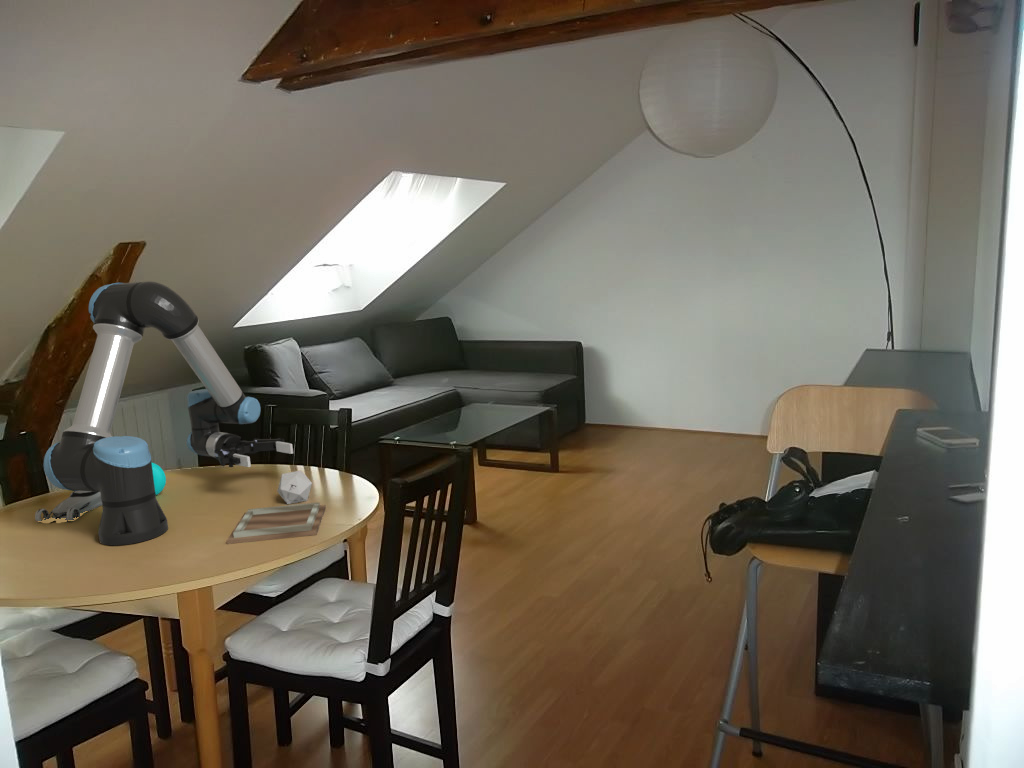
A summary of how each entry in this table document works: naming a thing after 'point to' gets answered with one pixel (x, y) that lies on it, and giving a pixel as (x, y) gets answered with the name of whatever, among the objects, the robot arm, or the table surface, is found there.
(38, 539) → the table surface
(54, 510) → the car model
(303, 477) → the die
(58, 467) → the robot arm
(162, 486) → the turquoise ball
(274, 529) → the dice tray
